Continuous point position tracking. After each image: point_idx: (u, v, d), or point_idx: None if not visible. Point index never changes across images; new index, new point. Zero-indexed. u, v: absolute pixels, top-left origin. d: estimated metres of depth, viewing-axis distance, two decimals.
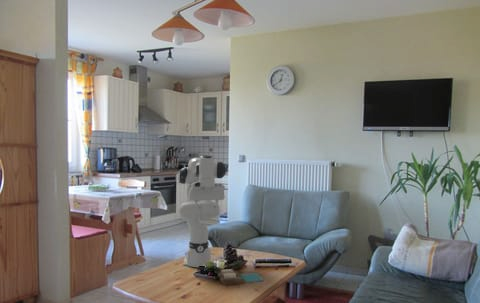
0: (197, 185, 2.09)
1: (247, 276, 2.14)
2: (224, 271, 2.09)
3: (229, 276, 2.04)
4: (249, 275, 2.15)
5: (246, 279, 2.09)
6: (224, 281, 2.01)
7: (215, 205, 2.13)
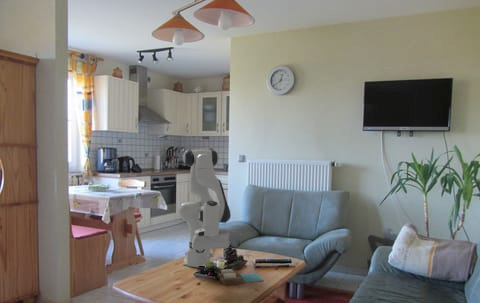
0: (201, 234, 2.00)
1: (247, 276, 2.14)
2: (224, 271, 2.09)
3: (229, 276, 2.04)
4: (249, 275, 2.15)
5: (246, 279, 2.09)
6: (224, 281, 2.01)
7: (212, 254, 2.04)
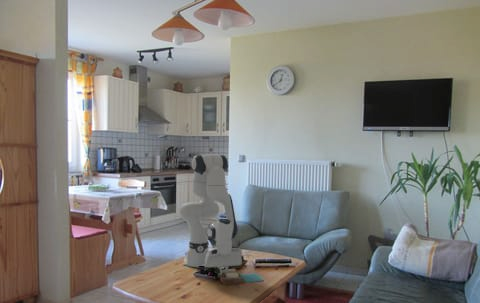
0: (214, 252, 2.03)
1: (247, 276, 2.14)
2: (226, 271, 2.09)
3: (232, 276, 2.04)
4: (249, 275, 2.15)
5: (246, 279, 2.09)
6: (224, 281, 2.01)
7: (225, 271, 2.07)
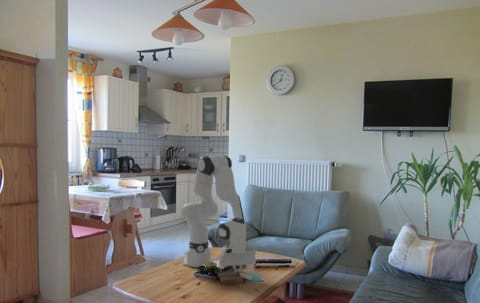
0: (229, 251, 2.05)
1: None
2: (241, 270, 2.12)
3: (245, 276, 2.06)
4: None
5: (246, 279, 2.09)
6: (224, 281, 2.01)
7: (239, 270, 2.09)
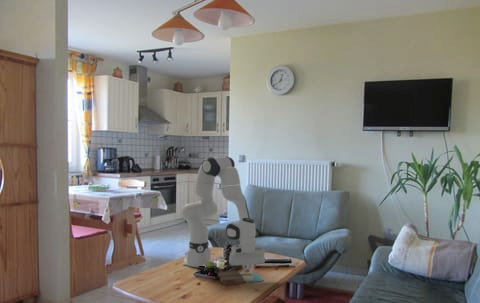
0: (238, 251, 2.06)
1: None
2: (242, 273, 2.12)
3: (247, 278, 2.07)
4: None
5: None
6: (224, 281, 2.01)
7: (248, 269, 2.11)
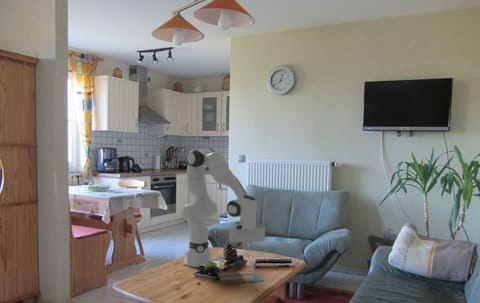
0: (239, 228, 2.06)
1: None
2: (242, 273, 2.12)
3: (247, 278, 2.07)
4: None
5: None
6: (224, 281, 2.01)
7: (248, 246, 2.11)
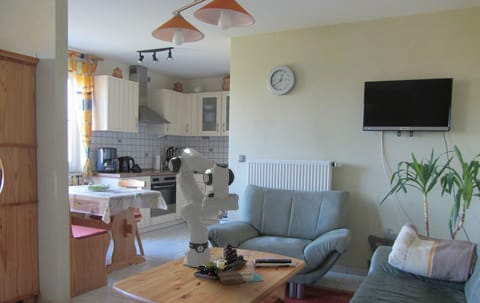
0: (211, 196, 2.02)
1: None
2: (242, 273, 2.12)
3: (247, 278, 2.07)
4: None
5: None
6: (224, 281, 2.01)
7: (222, 216, 2.06)
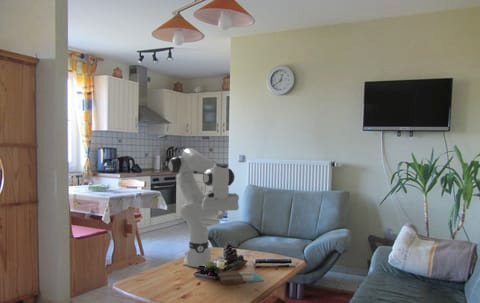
0: (211, 196, 2.02)
1: None
2: (242, 273, 2.12)
3: (247, 278, 2.07)
4: None
5: None
6: (224, 281, 2.01)
7: (221, 216, 2.06)
